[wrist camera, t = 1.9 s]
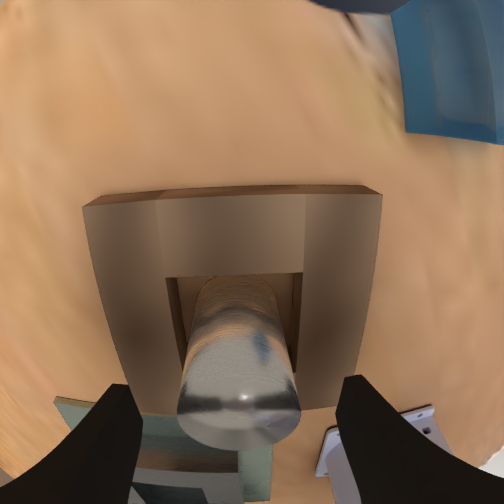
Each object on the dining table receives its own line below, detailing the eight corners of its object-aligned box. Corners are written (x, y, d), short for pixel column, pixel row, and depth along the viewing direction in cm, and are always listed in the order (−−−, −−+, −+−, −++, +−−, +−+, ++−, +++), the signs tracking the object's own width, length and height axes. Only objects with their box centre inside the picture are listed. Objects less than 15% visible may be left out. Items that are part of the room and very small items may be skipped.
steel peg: (277, 269, 15) (306, 374, 8) (275, 337, 16) (296, 446, 10) (192, 273, 15) (165, 378, 8) (200, 340, 16) (187, 450, 10)
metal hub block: (273, 408, 18) (279, 452, 15) (269, 496, 24) (272, 524, 21) (56, 396, 18) (39, 430, 14) (120, 488, 24) (115, 514, 20)
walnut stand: (363, 185, 13) (382, 194, 12) (337, 381, 18) (345, 404, 16) (101, 196, 13) (82, 206, 11) (146, 389, 17) (139, 412, 16)
